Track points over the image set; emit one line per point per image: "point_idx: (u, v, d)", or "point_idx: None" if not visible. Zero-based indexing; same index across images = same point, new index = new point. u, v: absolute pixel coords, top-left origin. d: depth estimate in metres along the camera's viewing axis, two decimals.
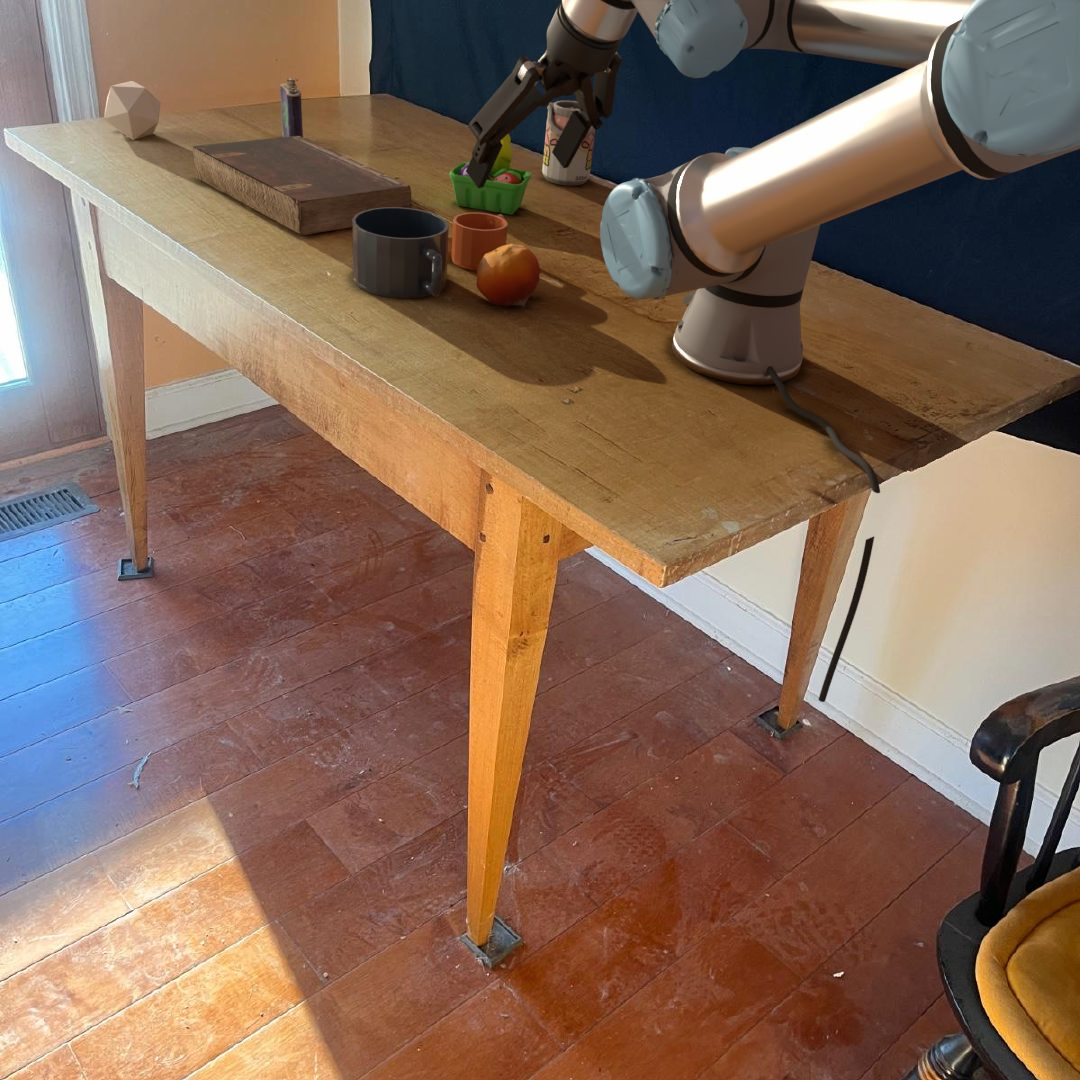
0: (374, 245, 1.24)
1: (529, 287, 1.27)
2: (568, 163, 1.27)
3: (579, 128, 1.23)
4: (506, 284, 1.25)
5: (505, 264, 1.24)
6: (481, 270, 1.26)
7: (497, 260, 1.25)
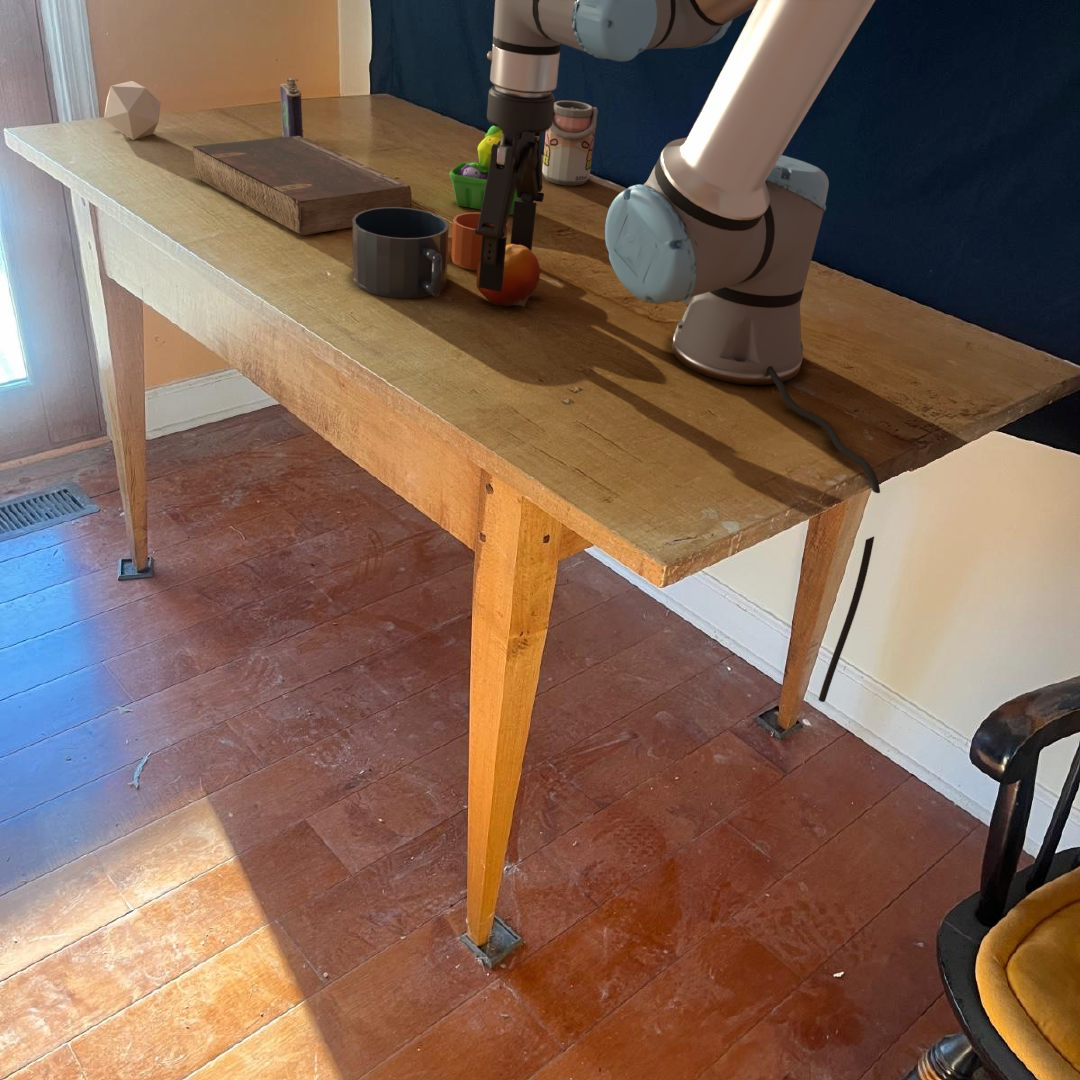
0: (374, 245, 1.24)
1: (529, 287, 1.27)
2: (531, 248, 1.33)
3: (528, 209, 1.30)
4: (506, 284, 1.25)
5: (505, 264, 1.24)
6: None
7: None
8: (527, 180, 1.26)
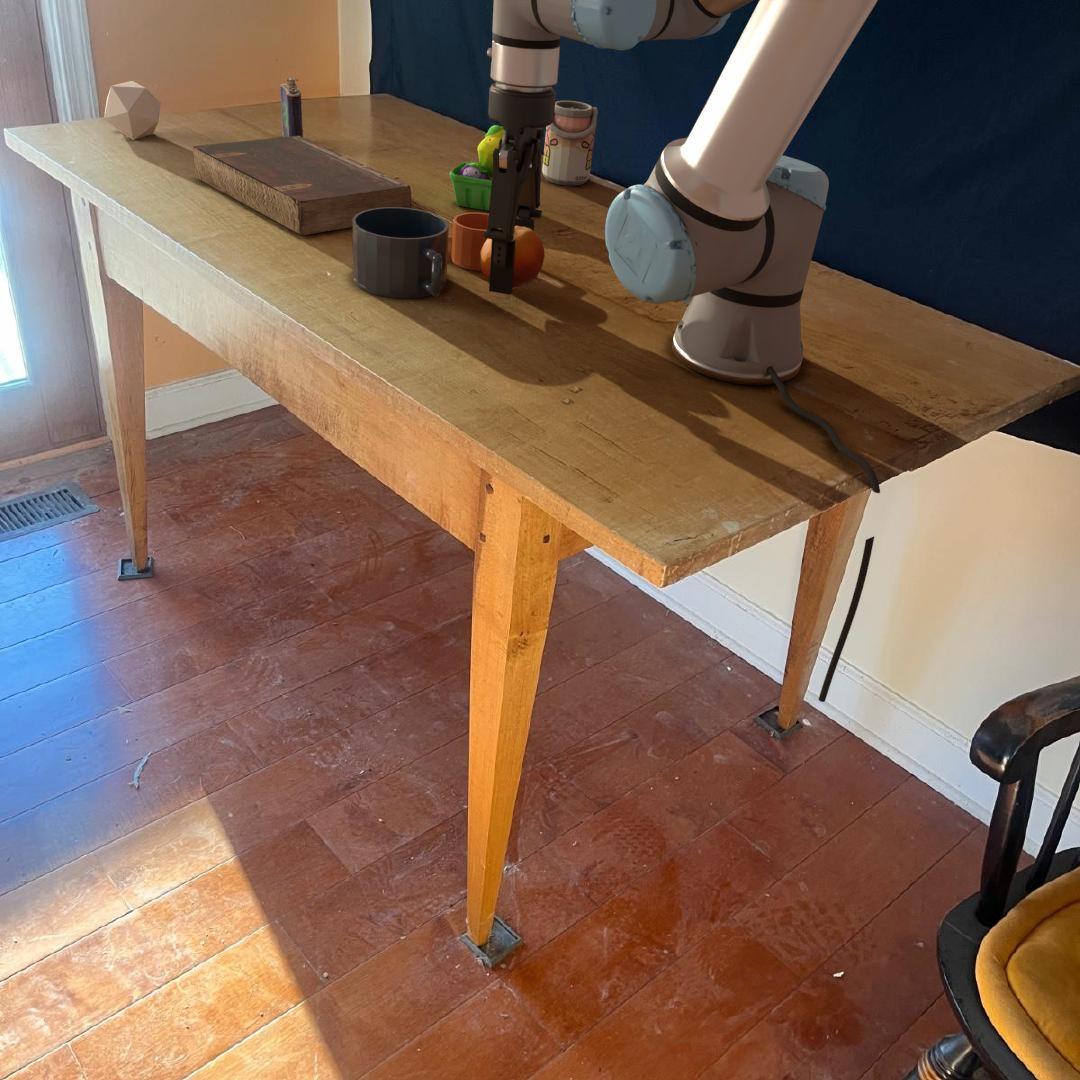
0: (374, 245, 1.24)
1: (533, 269, 1.25)
2: None
3: (526, 226, 1.28)
4: None
5: None
6: (485, 252, 1.25)
7: None
8: (526, 188, 1.25)
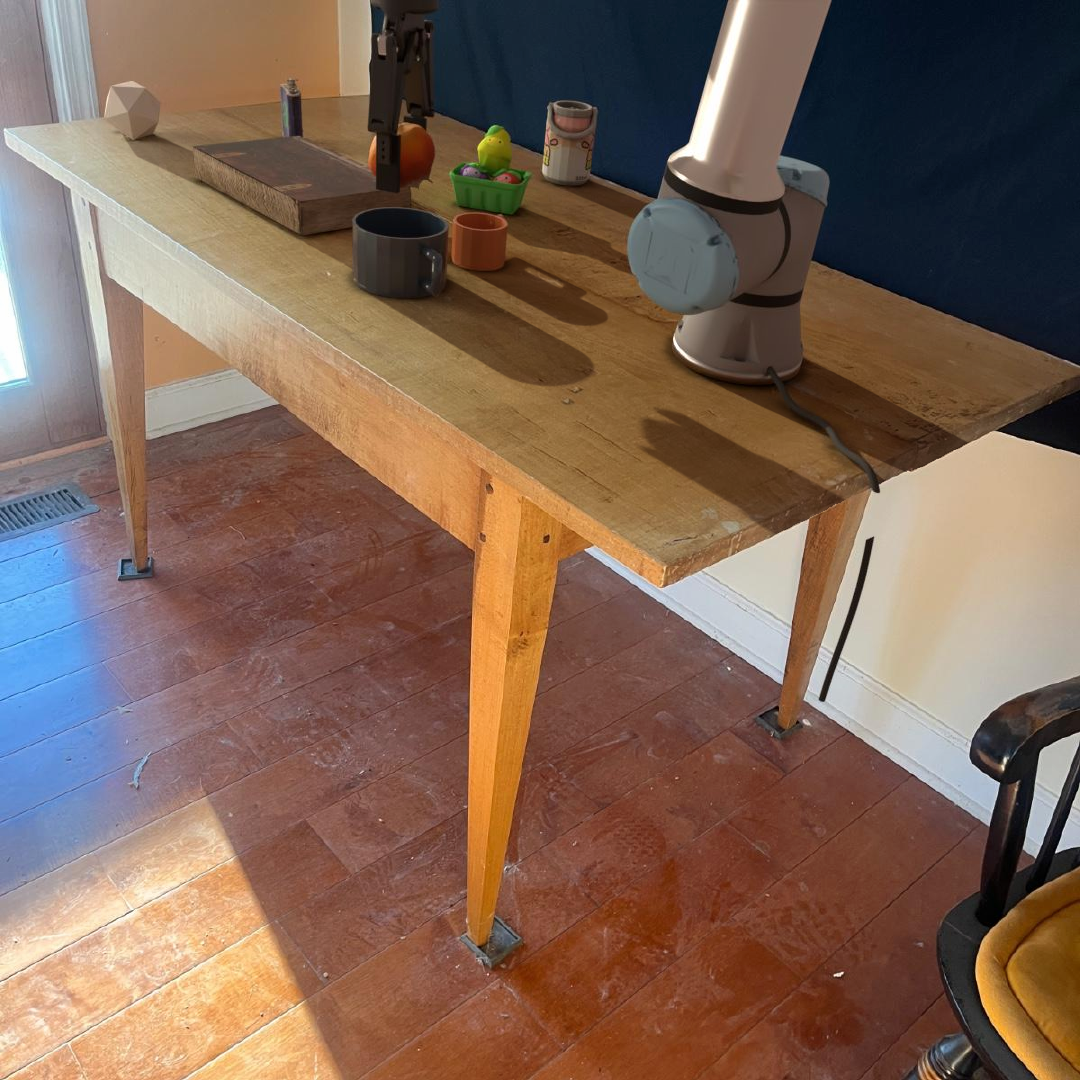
0: (374, 245, 1.24)
1: (422, 167, 1.22)
2: None
3: None
4: None
5: None
6: (372, 148, 1.21)
7: None
8: (416, 83, 1.21)
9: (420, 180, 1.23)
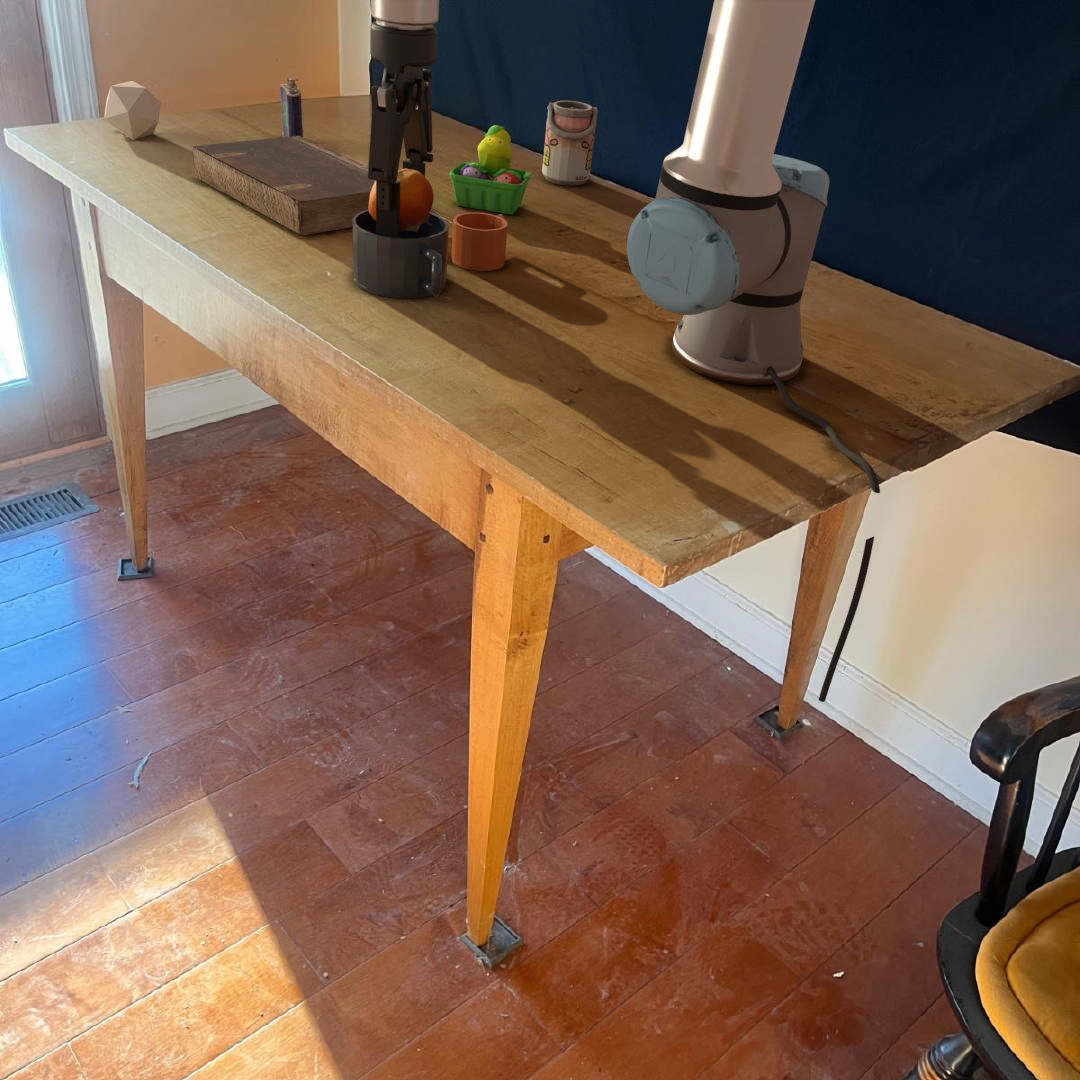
0: (374, 245, 1.24)
1: (421, 212, 1.25)
2: None
3: (417, 170, 1.28)
4: None
5: None
6: (372, 194, 1.24)
7: None
8: (415, 130, 1.24)
9: (419, 224, 1.26)
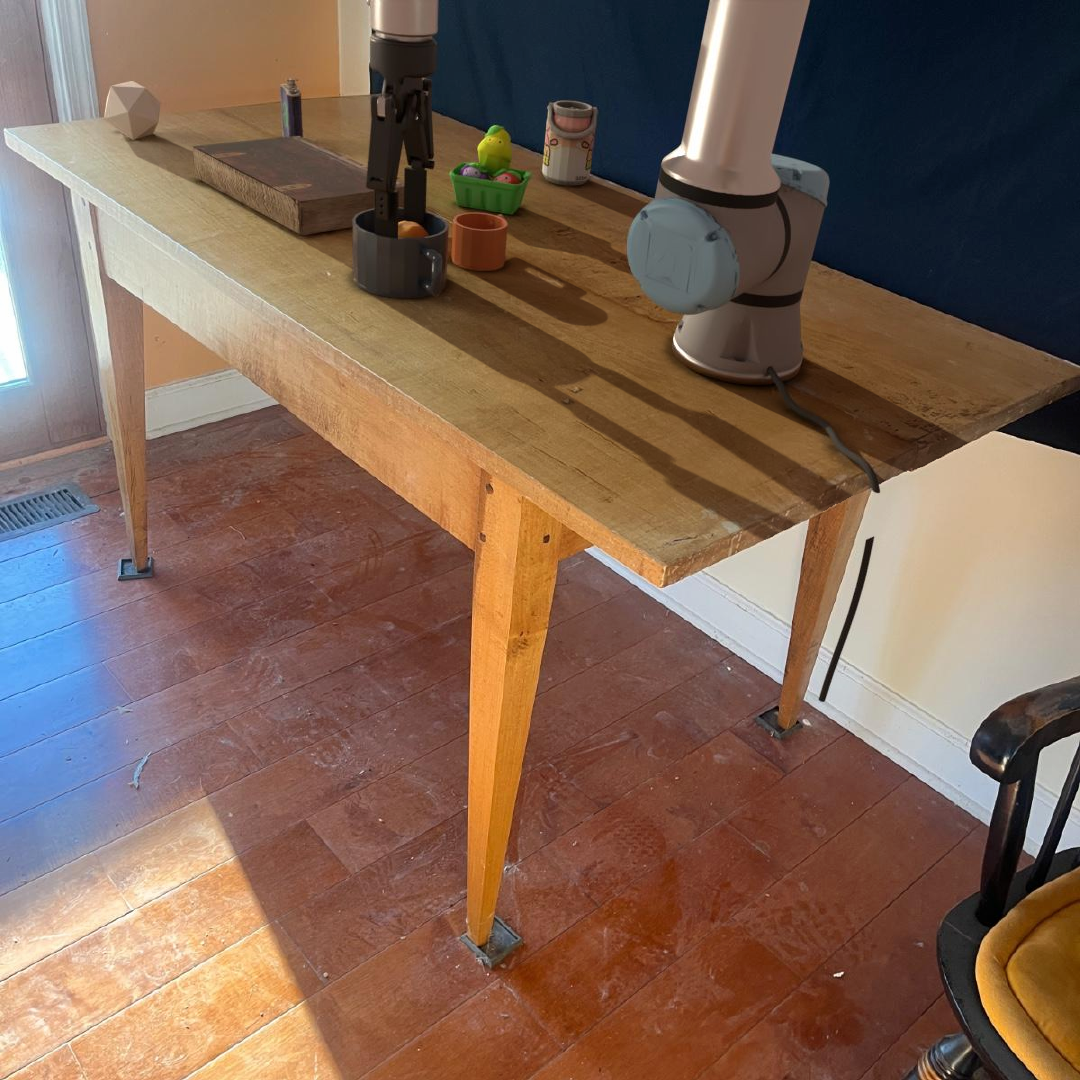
0: (374, 245, 1.24)
1: None
2: (424, 216, 1.32)
3: (419, 177, 1.29)
4: None
5: None
6: None
7: None
8: (416, 139, 1.25)
9: None
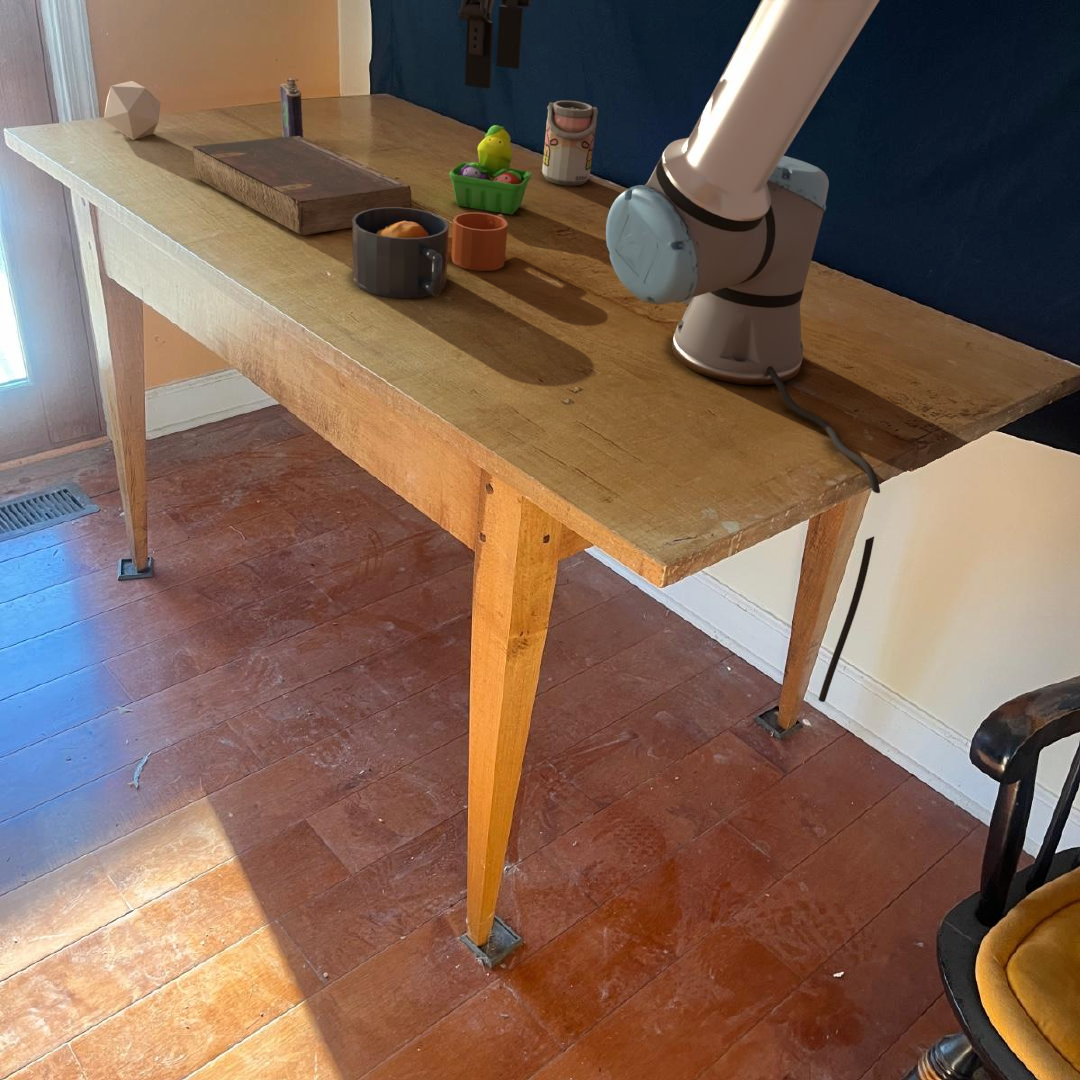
0: (374, 245, 1.24)
1: None
2: (518, 61, 1.24)
3: (514, 15, 1.21)
4: None
5: None
6: None
7: (387, 236, 1.27)
8: None
9: None
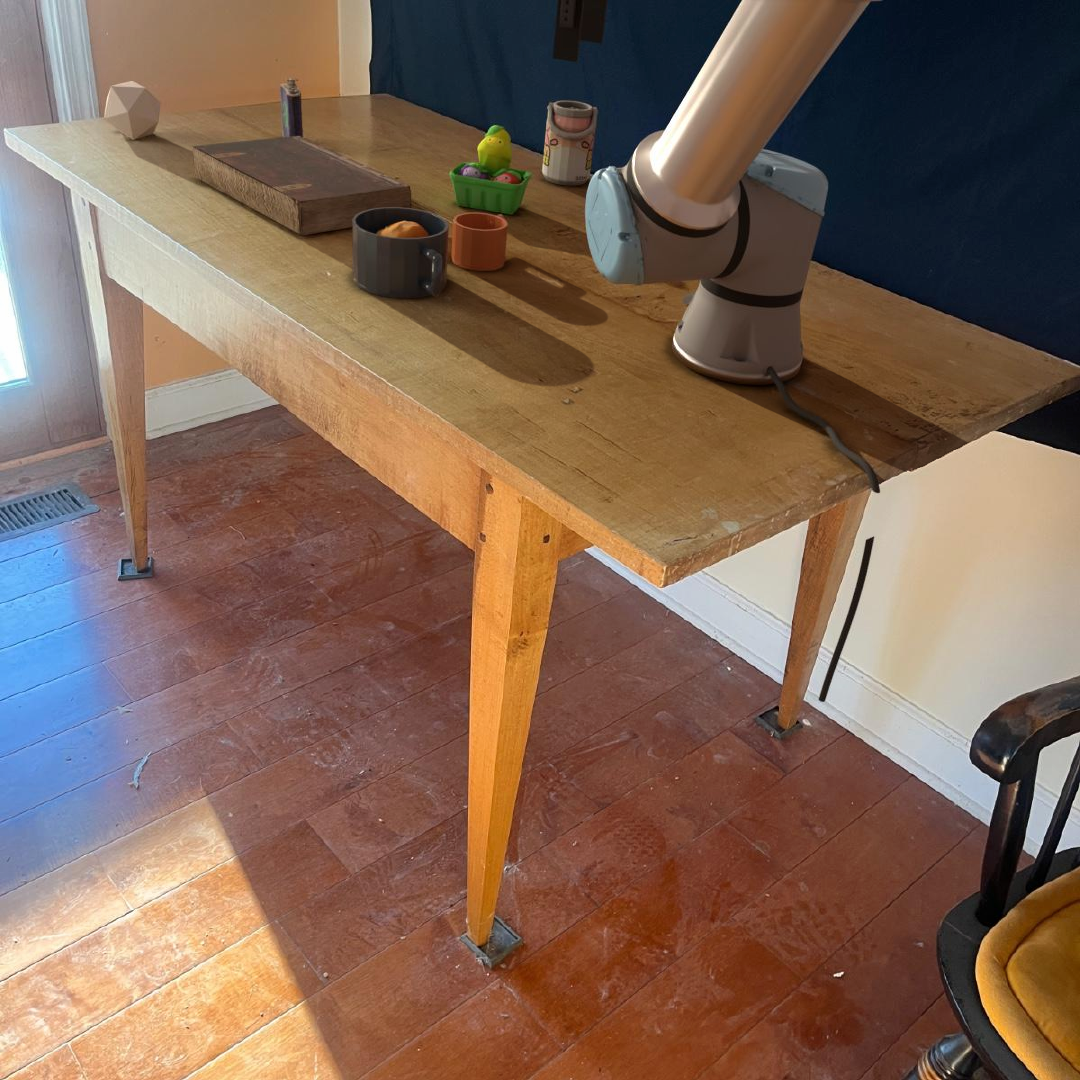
0: (374, 245, 1.24)
1: None
2: (602, 36, 1.23)
3: None
4: None
5: None
6: None
7: (387, 236, 1.27)
8: None
9: None
